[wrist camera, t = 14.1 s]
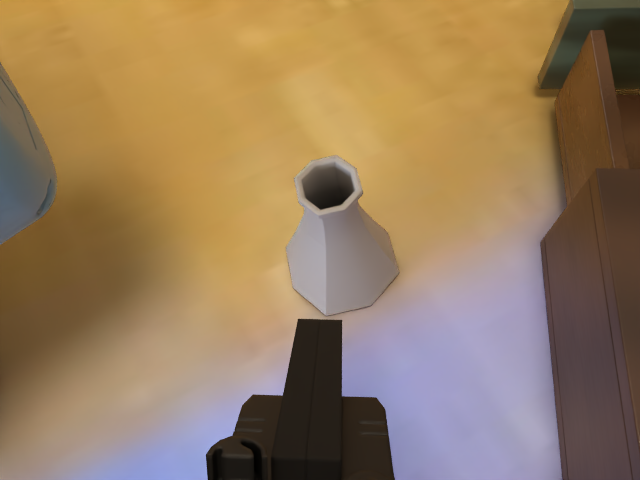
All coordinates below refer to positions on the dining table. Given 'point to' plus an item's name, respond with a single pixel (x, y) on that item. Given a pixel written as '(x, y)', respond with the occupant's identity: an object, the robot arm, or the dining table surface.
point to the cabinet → (596, 326)
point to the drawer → (595, 87)
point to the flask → (337, 241)
